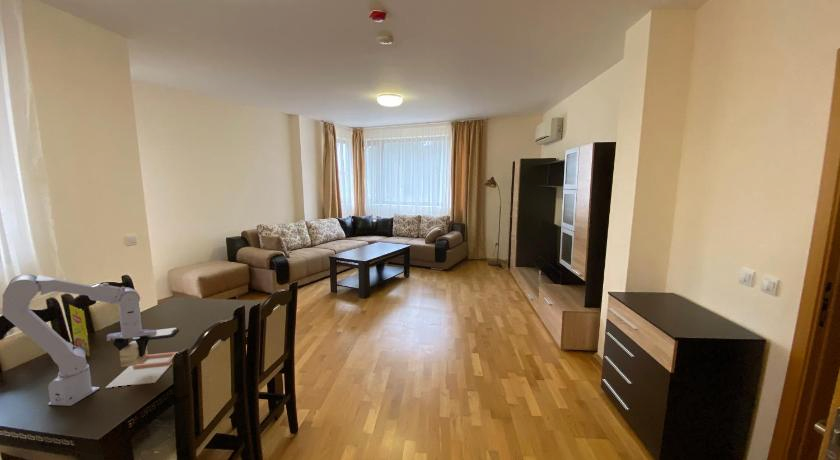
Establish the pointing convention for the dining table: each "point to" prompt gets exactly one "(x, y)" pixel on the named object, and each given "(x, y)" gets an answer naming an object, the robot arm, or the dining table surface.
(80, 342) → the food package
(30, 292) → the robot arm
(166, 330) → the phone case
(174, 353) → the frame
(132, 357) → the block
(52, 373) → the dining table surface
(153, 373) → the mat
